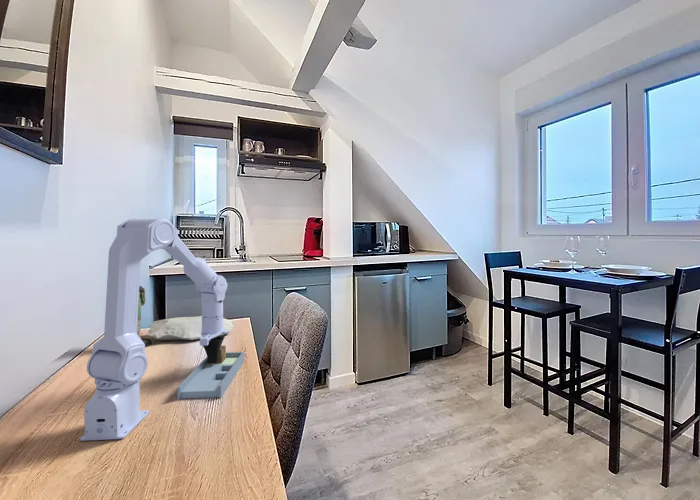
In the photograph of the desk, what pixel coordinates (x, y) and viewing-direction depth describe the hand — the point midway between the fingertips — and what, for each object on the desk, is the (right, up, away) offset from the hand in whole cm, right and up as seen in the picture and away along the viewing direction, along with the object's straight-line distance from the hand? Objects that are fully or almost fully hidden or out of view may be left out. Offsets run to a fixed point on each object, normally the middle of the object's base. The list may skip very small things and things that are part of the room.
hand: (213, 362), depth 93 cm
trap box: (+3, -3, -5) cm, 6 cm away
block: (0, -1, +3) cm, 3 cm away
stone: (-23, -2, +34) cm, 41 cm away
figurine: (-38, -2, +20) cm, 43 cm away
